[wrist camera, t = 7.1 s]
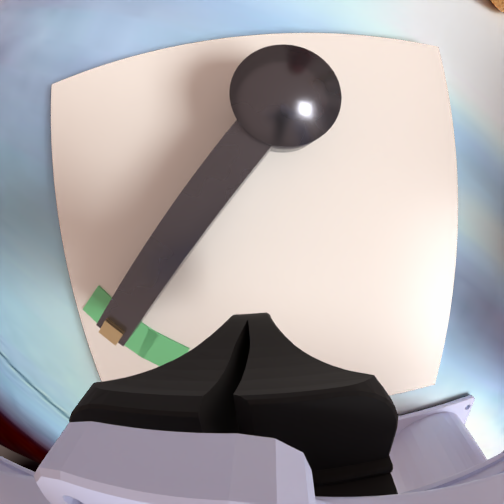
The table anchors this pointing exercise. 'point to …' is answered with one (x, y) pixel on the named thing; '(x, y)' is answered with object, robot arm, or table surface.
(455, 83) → the table surface
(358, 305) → the dial board
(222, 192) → the lever
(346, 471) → the robot arm
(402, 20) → the table surface
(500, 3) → the figurine
